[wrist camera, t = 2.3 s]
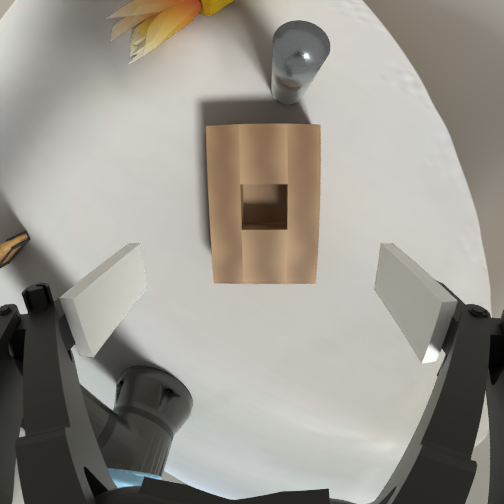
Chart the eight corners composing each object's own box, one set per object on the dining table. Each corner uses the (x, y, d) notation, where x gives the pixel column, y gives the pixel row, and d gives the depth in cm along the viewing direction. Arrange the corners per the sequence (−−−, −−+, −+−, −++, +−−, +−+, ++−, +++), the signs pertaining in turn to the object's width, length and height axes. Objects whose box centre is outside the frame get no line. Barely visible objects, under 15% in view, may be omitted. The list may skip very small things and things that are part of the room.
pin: (271, 104, 31) (273, 66, 16) (270, 74, 30) (271, 19, 15) (304, 104, 31) (332, 69, 16) (303, 75, 30) (327, 22, 15)
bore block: (220, 267, 39) (214, 283, 34) (214, 129, 33) (205, 125, 28) (310, 267, 38) (315, 283, 33) (313, 128, 32) (320, 124, 27)
